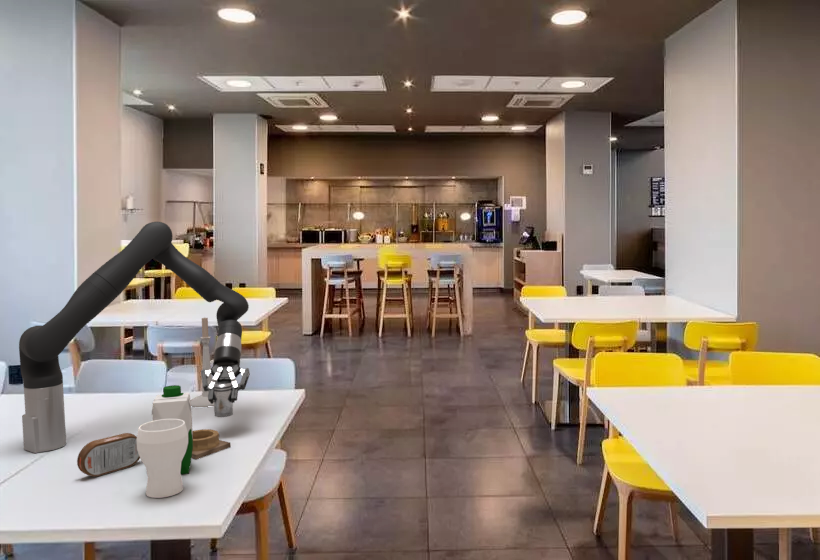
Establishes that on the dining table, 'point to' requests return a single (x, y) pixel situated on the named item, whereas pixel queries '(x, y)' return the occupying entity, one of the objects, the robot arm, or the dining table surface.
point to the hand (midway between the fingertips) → (222, 401)
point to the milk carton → (176, 416)
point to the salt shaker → (223, 399)
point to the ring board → (207, 452)
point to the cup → (163, 455)
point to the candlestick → (203, 399)
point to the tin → (108, 455)
